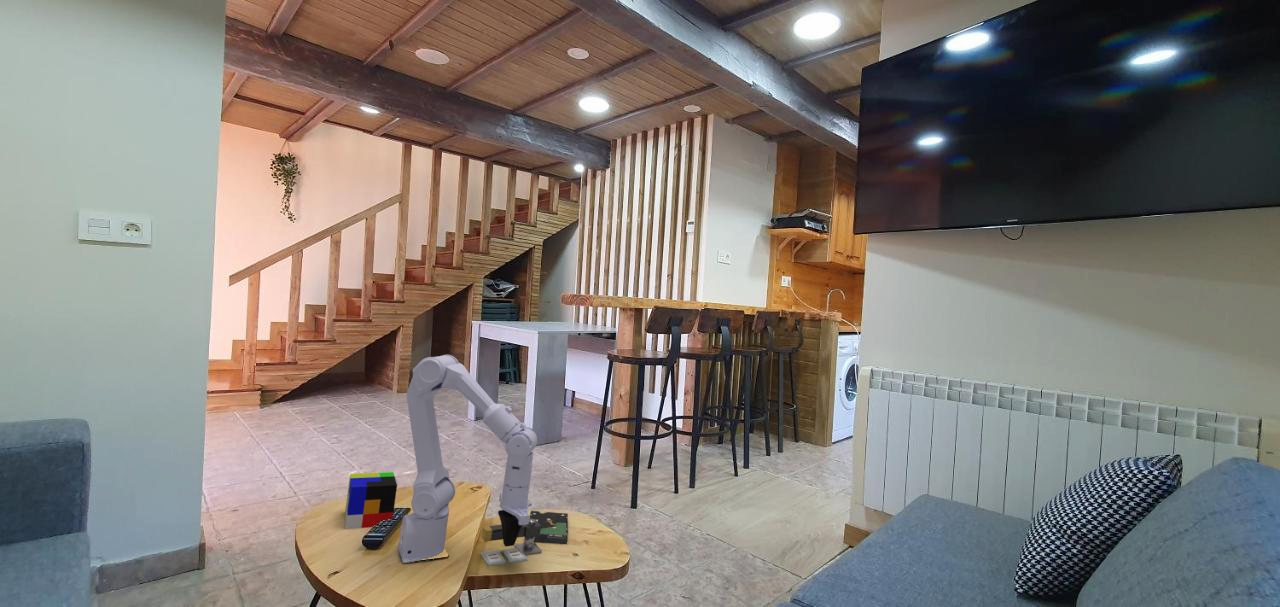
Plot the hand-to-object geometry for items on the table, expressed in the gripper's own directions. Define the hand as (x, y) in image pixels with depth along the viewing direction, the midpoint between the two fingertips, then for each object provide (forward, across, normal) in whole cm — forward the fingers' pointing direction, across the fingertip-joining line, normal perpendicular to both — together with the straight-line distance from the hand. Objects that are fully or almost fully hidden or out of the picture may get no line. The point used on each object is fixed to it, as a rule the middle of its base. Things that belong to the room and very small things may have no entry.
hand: (508, 544), depth 117 cm
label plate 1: (+4, +3, +2) cm, 6 cm away
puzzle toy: (+5, +32, +25) cm, 41 cm away
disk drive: (+5, +14, -16) cm, 22 cm away
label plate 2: (+4, +3, -3) cm, 6 cm away
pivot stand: (+4, +5, -7) cm, 10 cm away
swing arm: (+1, +5, -2) cm, 6 cm away
